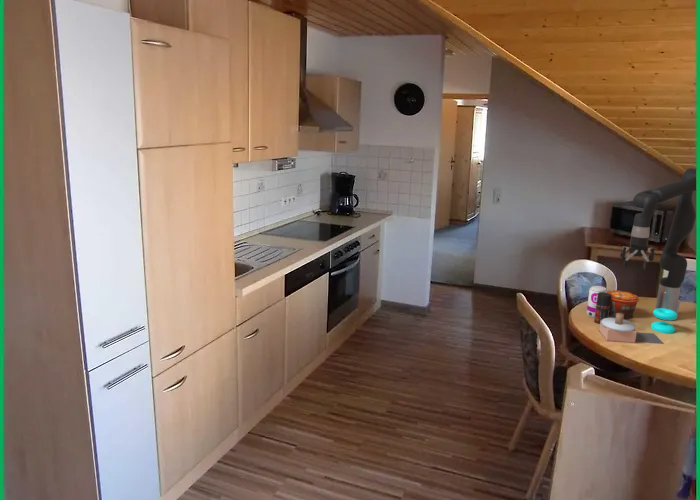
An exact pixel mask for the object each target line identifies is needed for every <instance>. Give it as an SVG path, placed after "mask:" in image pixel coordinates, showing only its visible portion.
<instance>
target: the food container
mask: <svg viewBox="0 0 700 500" xmlns="http://www.w3.org/2000/svg"><path fill="white" fill-rule="evenodd" d="M607 293H609V294H611V301H610V308H609V315H608V317H611V318H616V313H622V314H624V318H623V319H624V320H628V319H631V318H633V316H634V313H635V310H636V307H637V304H638V302H639V301H640V298H639V297H638V295H636V294H633V293H631V292H630V291H629V292H628V291H622V290H615V289H614V290H607Z"/></svg>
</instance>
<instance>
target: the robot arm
mask: <svg viewBox="0 0 700 500" xmlns="http://www.w3.org/2000/svg"><path fill="white" fill-rule="evenodd" d="M696 169H697V168H693V167H690V168H687V169H686V170H685V171H684V172H683V174H682V177H681V181H676V182H671V183H666V184H663V185H660V186H658V187H656V188H654V189H649V190H644V191H640V192H638V193H636V194H635V196H634V197H633V198H632V199H633V200H632V203H633V204H634V206H635V207H636V208H639V209H643V210H642V212H637V213H635V215H634V218H633V224H632V229H631V233H630V241H629V246H624V245H622V246H621V250H620V255H619V258H621V260H623V266H622V267H623V268H624V269H628V266H629V260H630V259H632V258H633V257H638V258H639V257H640V258H641V257H642V258H643V259H644V260H643V265H642V269H643V270H647V269H648V268H649V262H652V261H653V262H654V257H655V256H654V255H655V248H653V247H648V245H649V239H650V235H651V234H650V231H651V223H652V218H653V216H654V213H655V211H656V209H657V208H658V205H659V203H664V202H666V201H668V200H671V199H673V198H675V197H678V199H677V202H676V203H677V204H676V207H675V211H674V214H673V218H672V222H671V225H670V230H669V233H668V237H667V240H666V243H665V246H664V248H663V250H662V253H661V255H660V258H659V267H660V268H661V269H662V270H664V271H667V272H668V273H667V276H665V277H664V276H663V277H661V278H660V279H659V280H660V281H659V284H658V286H659V287H658V291H657V297H656V298H657V299H656V302H655V303H656V304H655V309H658V308H665V309H670V310H673V311H675V312H676V313H677V316H678V315H679V308H680V301H679V298H680V292H681V287H682V284H683V282H684V280H685V277H686V274H687V270H688V268H687V267H688V260H687V258H686V257H685V256H683V255H680V254H678V252H679V249H680V248H679V247H680V246H681V244H682V242H683V241H685V239H686V238H687V237H688V236H689V235H690V234H691V233H692V231H693V230H694V226H695V222H696V218H697V215H696V210H695V205H694V203H693V192H695V191H697V190H696ZM627 251H628V253H627V254H626V252H627ZM647 252H648V256H647V255H646V253H647ZM655 309H654V310H655ZM653 316H654V317H655V318H657V317H656V316H655V315H654V314H653ZM657 319H658V318H657ZM677 319H678V317H677V318H676V319H674V320H673V321H677ZM661 320H663V319H661ZM663 321H664V320H663ZM668 321H669V322H670V321H672V320H668Z"/></svg>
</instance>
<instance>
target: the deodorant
mask: <svg viewBox="0 0 700 500" xmlns="http://www.w3.org/2000/svg"><path fill="white" fill-rule="evenodd" d="M610 301H611V294H609V293H604V292H599V293H598V297H597V304H596V311H595V318H593V322H594V323H595V324H597V325H600V321H601V320H603V319H604V318H609V308H610Z"/></svg>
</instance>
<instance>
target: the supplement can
mask: <svg viewBox="0 0 700 500" xmlns="http://www.w3.org/2000/svg"><path fill="white" fill-rule="evenodd" d="M588 290H589V291H588V299H587V305H586V315H587V316H588V317H590V318H593V319H594V318H595V311H596V304H597V297H598V293H599V292H604V293H607V291H608V290H607V288H606V287H605V286H601V285H592V286H591V287H590V288H589V289H588Z"/></svg>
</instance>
